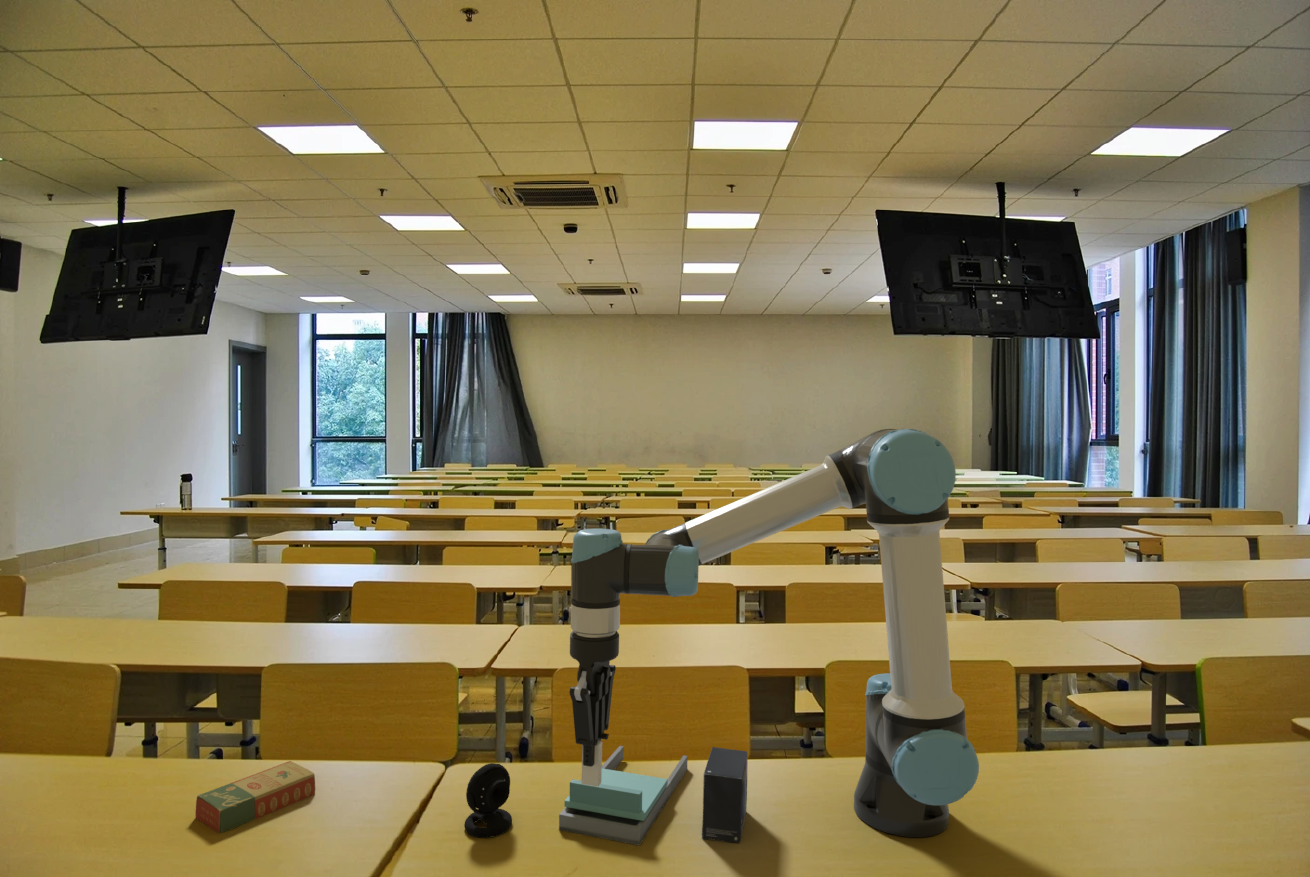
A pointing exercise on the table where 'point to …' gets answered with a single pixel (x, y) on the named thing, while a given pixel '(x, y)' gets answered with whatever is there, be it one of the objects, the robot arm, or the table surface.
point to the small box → (724, 795)
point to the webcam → (488, 801)
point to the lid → (618, 794)
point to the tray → (616, 825)
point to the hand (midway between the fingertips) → (591, 782)
